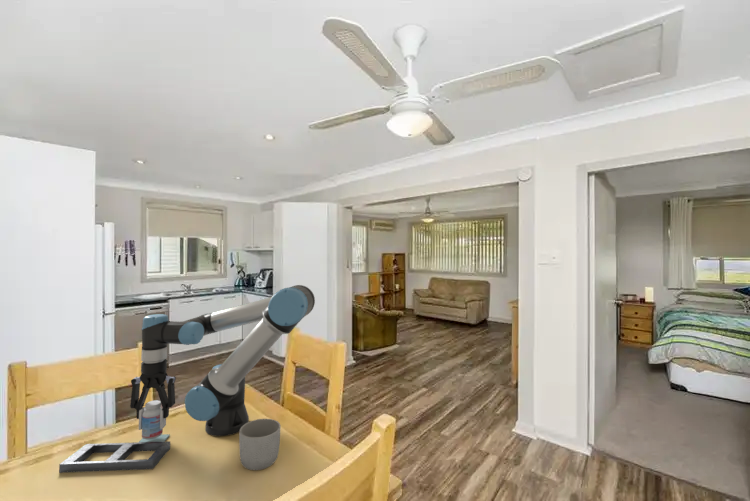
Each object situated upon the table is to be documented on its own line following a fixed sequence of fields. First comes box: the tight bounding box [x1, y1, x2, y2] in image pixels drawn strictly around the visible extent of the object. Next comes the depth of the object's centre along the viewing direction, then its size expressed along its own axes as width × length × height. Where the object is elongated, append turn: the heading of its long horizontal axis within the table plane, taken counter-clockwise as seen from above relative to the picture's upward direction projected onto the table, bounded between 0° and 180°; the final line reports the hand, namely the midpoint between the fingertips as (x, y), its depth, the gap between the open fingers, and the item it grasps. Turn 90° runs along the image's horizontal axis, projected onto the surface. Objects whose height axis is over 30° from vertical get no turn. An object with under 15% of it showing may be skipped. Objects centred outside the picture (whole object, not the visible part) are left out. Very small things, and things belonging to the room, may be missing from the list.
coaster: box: [138, 433, 171, 442], centre depth 120 cm, size 8×8×1 cm
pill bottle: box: [141, 399, 164, 440], centre depth 120 cm, size 6×6×11 cm
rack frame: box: [58, 440, 171, 474], centre depth 110 cm, size 26×11×2 cm, turn 96°
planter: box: [238, 418, 281, 471], centre depth 110 cm, size 12×12×11 cm
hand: (152, 427), depth 120 cm, fingers closed on pill bottle, 6 cm apart
